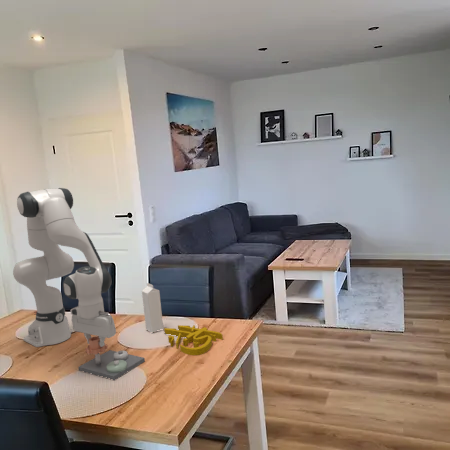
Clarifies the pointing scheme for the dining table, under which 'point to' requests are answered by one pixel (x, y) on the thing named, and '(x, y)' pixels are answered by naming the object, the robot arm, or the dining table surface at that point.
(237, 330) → the dining table surface
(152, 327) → the milk
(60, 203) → the robot arm
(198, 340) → the decorative art
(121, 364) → the carrier
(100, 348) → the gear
